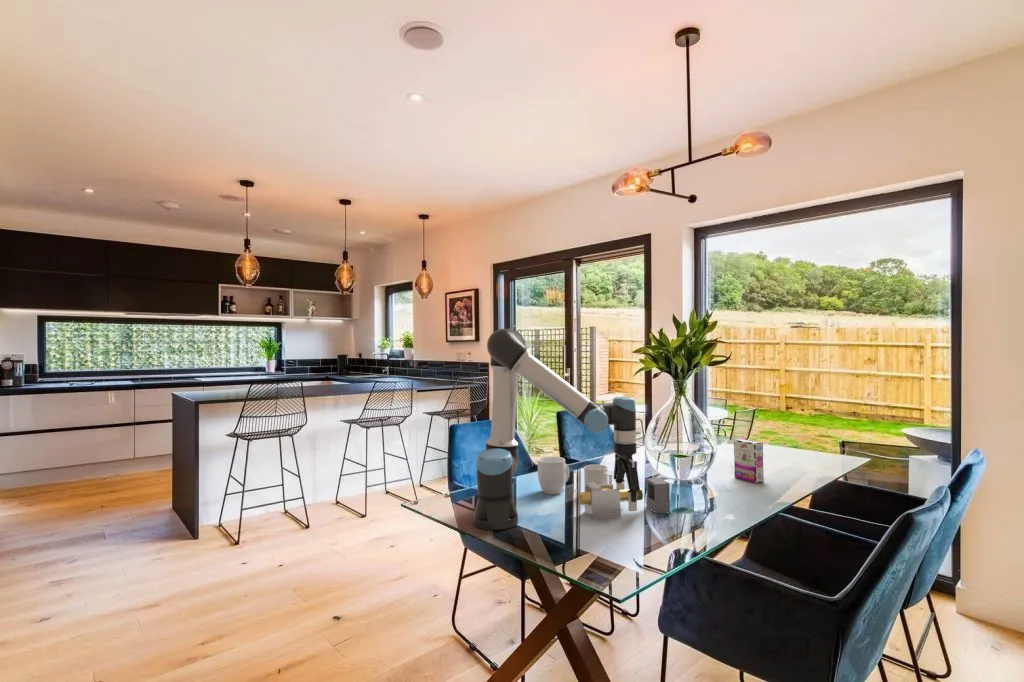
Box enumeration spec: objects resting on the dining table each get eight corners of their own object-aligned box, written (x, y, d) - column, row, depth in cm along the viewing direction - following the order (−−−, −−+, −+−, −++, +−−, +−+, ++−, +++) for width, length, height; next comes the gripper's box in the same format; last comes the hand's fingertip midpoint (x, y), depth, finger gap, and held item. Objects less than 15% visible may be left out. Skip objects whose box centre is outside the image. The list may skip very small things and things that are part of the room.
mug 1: (559, 485, 223) (558, 453, 223) (578, 490, 215) (577, 457, 215) (532, 492, 214) (531, 459, 214) (551, 498, 205) (550, 463, 205)
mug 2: (579, 495, 207) (579, 467, 207) (595, 491, 213) (594, 463, 213) (603, 502, 198) (603, 472, 198) (619, 497, 204) (618, 468, 204)
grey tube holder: (592, 519, 180) (591, 489, 180) (584, 512, 188) (584, 482, 188) (620, 517, 182) (620, 486, 182) (612, 509, 190) (611, 480, 190)
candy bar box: (764, 482, 220) (763, 442, 220) (755, 483, 218) (755, 443, 218) (742, 476, 231) (741, 438, 231) (733, 477, 229) (733, 439, 228)
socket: (656, 514, 184) (656, 484, 184) (646, 506, 192) (646, 478, 192) (670, 512, 185) (669, 483, 185) (659, 505, 193) (659, 477, 193)
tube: (581, 506, 181) (581, 494, 181) (578, 502, 185) (577, 491, 185) (643, 501, 185) (642, 489, 185) (638, 498, 189) (637, 486, 189)
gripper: (649, 447, 176) (650, 515, 176) (622, 435, 198) (624, 495, 198) (627, 448, 174) (629, 517, 174) (603, 436, 197) (604, 497, 197)
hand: (626, 505), depth 186 cm, fingers open, 10 cm apart
